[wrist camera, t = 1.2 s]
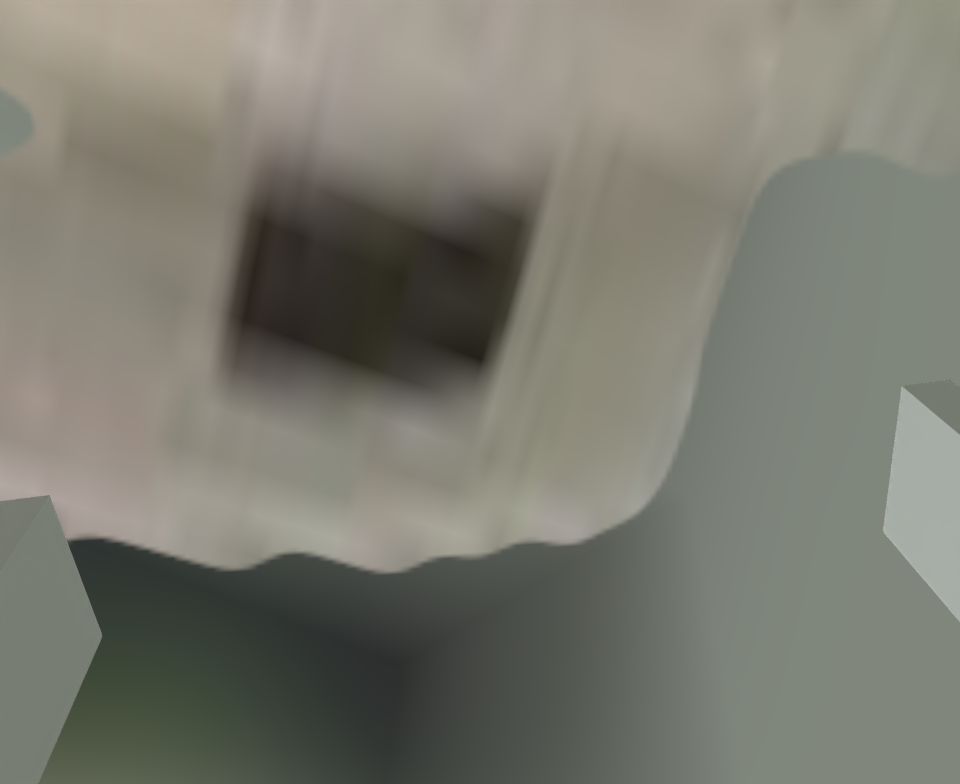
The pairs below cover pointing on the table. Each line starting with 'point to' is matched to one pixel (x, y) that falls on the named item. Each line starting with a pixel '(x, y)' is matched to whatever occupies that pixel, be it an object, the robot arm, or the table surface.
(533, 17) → the table surface
